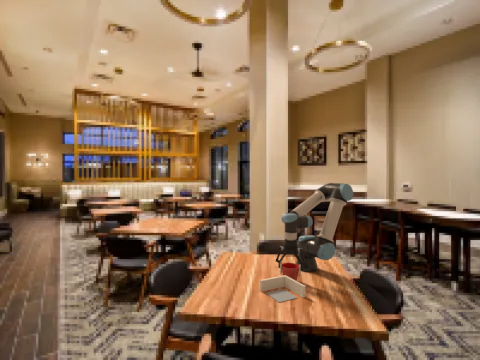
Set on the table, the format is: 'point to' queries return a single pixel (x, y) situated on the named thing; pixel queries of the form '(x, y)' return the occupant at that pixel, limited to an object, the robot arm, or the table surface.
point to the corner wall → (282, 284)
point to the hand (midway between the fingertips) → (290, 274)
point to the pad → (281, 295)
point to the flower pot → (290, 270)
